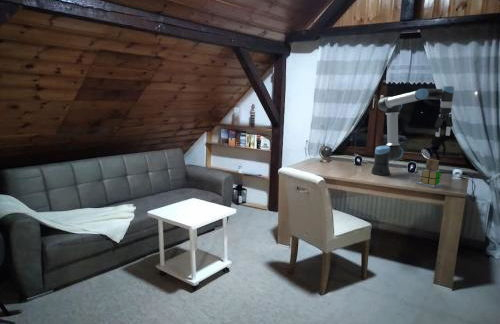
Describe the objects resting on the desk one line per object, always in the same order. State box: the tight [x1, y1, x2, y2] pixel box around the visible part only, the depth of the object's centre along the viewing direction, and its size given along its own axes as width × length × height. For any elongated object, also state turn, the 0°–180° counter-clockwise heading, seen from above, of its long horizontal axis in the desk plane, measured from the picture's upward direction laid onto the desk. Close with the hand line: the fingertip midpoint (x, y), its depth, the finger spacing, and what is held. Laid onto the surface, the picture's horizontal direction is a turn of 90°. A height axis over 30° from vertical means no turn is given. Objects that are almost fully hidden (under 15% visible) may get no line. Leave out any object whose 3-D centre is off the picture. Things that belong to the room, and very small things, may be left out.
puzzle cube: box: [420, 168, 442, 185], centre depth 269 cm, size 10×10×10 cm
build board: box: [416, 181, 446, 189], centre depth 270 cm, size 14×14×1 cm
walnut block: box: [425, 158, 440, 171], centre depth 267 cm, size 6×6×8 cm
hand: (442, 136), depth 267 cm, fingers open, 13 cm apart
